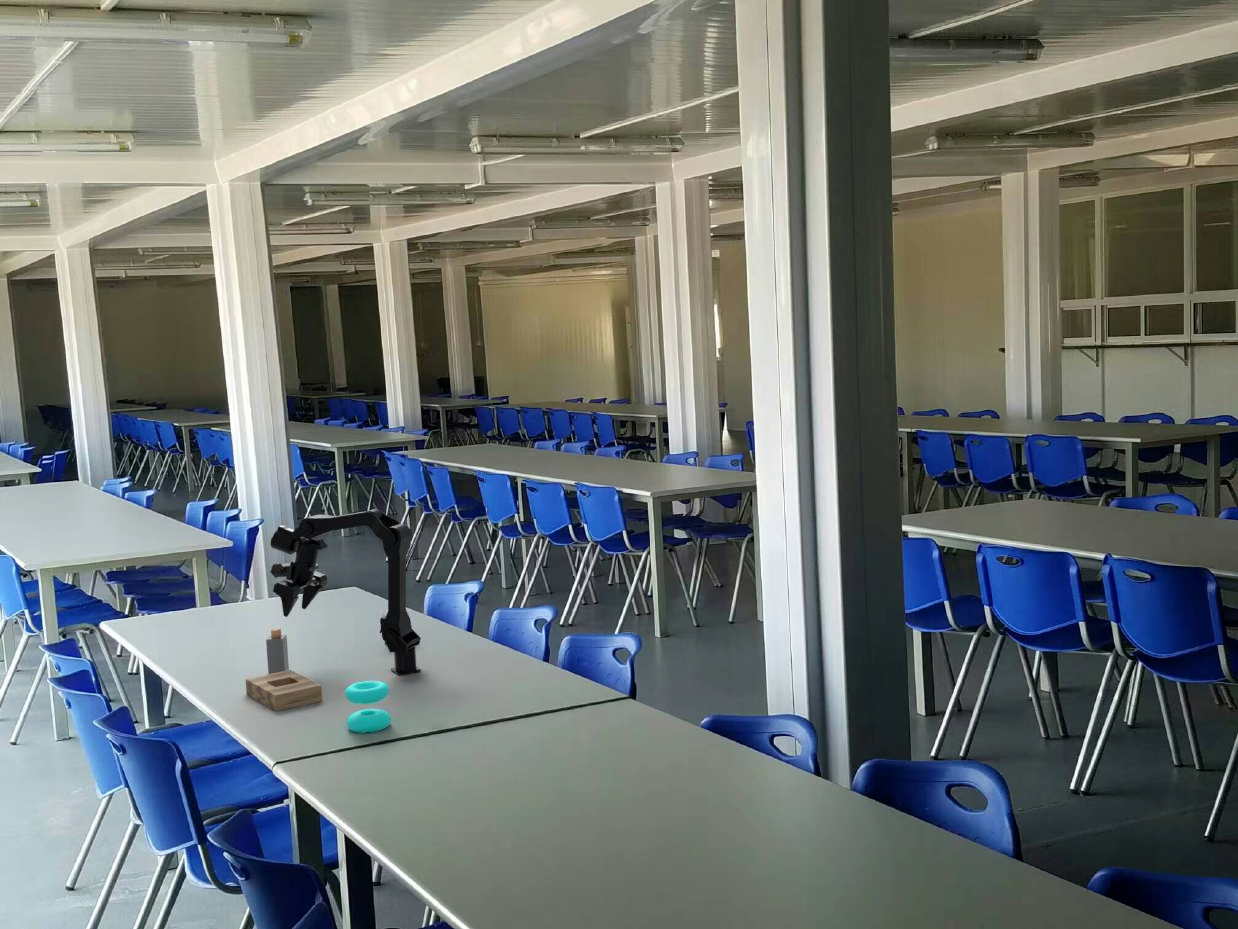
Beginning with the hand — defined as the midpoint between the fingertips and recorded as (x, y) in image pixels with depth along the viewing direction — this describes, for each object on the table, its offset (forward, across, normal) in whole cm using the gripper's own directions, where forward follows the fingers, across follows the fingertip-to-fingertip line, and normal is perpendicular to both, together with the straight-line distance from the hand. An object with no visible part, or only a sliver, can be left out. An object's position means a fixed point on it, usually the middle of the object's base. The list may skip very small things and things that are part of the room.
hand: (294, 612), depth 339 cm
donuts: (0, +46, +49) cm, 67 cm away
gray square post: (+14, +11, +6) cm, 19 cm away
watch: (+10, -26, +20) cm, 35 cm away
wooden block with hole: (+11, +28, +17) cm, 34 cm away
